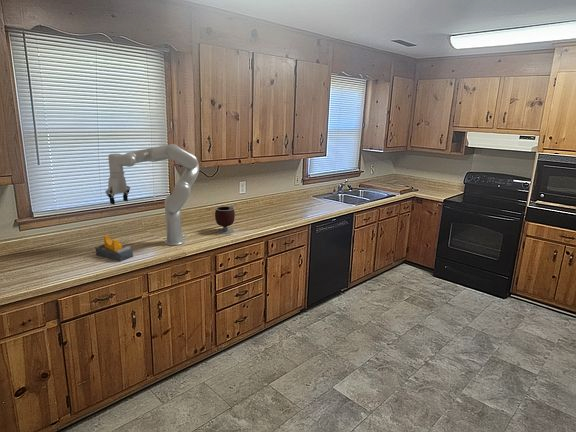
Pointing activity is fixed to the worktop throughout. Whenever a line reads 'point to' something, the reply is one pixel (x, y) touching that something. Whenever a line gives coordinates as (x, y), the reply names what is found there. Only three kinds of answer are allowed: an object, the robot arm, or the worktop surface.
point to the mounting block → (114, 253)
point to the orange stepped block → (112, 243)
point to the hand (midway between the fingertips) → (119, 202)
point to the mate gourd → (225, 218)
